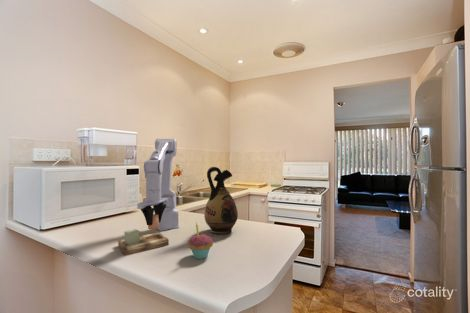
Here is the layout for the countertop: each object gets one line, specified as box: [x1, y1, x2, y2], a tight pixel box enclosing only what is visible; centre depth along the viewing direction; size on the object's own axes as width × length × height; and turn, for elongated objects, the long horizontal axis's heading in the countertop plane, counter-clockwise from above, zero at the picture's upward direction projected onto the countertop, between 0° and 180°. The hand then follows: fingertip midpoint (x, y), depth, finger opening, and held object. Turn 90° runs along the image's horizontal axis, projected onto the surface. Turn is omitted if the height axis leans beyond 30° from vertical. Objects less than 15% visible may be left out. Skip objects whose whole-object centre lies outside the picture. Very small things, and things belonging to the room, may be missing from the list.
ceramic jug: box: [203, 166, 239, 235], centre depth 107 cm, size 17×15×30 cm
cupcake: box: [187, 222, 214, 260], centre depth 80 cm, size 9×8×12 cm
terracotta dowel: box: [147, 213, 159, 230], centre depth 93 cm, size 4×4×5 cm
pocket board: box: [117, 231, 170, 256], centre depth 90 cm, size 16×11×2 cm
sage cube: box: [123, 228, 141, 246], centre depth 88 cm, size 4×4×5 cm
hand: (153, 223), depth 92 cm, fingers closed on terracotta dowel, 4 cm apart
